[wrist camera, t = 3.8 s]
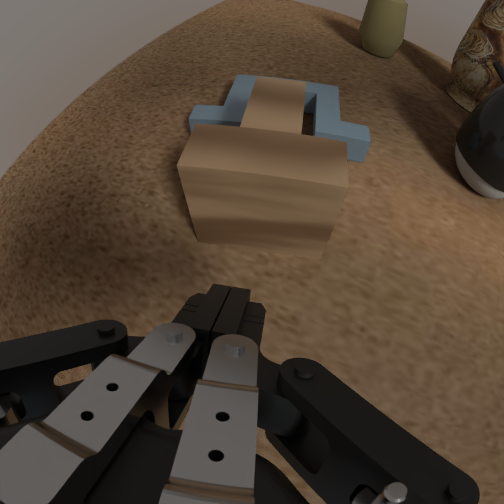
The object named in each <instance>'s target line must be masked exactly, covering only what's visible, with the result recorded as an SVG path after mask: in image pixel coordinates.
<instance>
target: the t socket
mask: <svg viewBox="0 0 504 504" xmlns="http://www.w3.org/2000/svg"><path fill="white" fill-rule="evenodd" d="M258 77H266V76H258ZM256 78H257V76H254V75H240V74H237V77H236V79H235V81H234V83H233V85H232V88H231V90H230V92H229V94H228V97H227V99H226V101H225V104H224V106H214V105H195V107H194V109H193V111H192V113H191V115H190V117H189V124H190V130H191V133H192V131H193V129H194V126H195V124H212V125H225V126H237V127H240V125H241V122H242V119H243V116H244V113H245V110H246V107H247V104H248V101H249V98H250V95H251V92H252V89H253V86H254V83H255V81H256ZM269 78H276V77H269ZM279 79H285V78H279ZM287 80H293V79H287ZM295 81H300V80H295ZM302 82H306V91H305V101H304V112H305V113H312V114H314V117H313V134H312V136H316V137H322V138H328V139H333V140H339V141H344V142H347V154H348V160H352V161H357V162H362V163H363V162H364V159H365V156H366V154H367V151H368V148H369V145H370V142H371V140H370V133H369V127H368V126H364V125H359V124H354V123H350V122H344V121H340V106H339V91H338V87H337V86H332V85H326V84H320V83H314V82H307V81H302Z"/></svg>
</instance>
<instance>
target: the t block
mask: <svg viewBox="0 0 504 504" xmlns="http://www.w3.org/2000/svg"><path fill="white" fill-rule="evenodd" d="M305 91H306V82H302V81H295V80H287V79H279V78H269V77H258V76H257V78H256V81H255V83H254V86H253V89H252V92H251V95H250V98H249V101H248V104H247V107H246V110H245V113H244V116H243V119H242V122H241V125H240V127H237V126H225V125H212V124H195V126H194V129H193V131H192V133H191V135H190V137H189V139H188V141H187V144H186V146H185V148H184V150H183V152H182V155H181V157H180V159H179V161H178V164H177V168H178V172H179V176H180V179H181V183H182V187H183V190H184V194H185V198H186V201H187V205H188V208H189V212H190V215H191V219H192V222H193V226H194V229H195V233H196V236H197V239H198V242H205V243H211V244H218V245H225V246H231V247H238V248H245V249H251V250H258V251H264V252H271V253H278V254H284V255H291V256H297V257H304V258H310V259H317V260H320V259H321V257H322V254H323V252H324V250H325V247H326V245H327V242H328V240H329V237H330V235H331V232H332V230H333V227H334V225H335V222H336V220H337V217H338V214H339V212H340V209H341V207H342V204H343V201H344V199H345V196H346V193H347V191H348V188H349V184H348V154H347V142H344V141H339V140H333V139H328V138H322V137H316V136H310V135H303V134H301V132H302V122H303V112H304V101H305Z"/></svg>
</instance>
